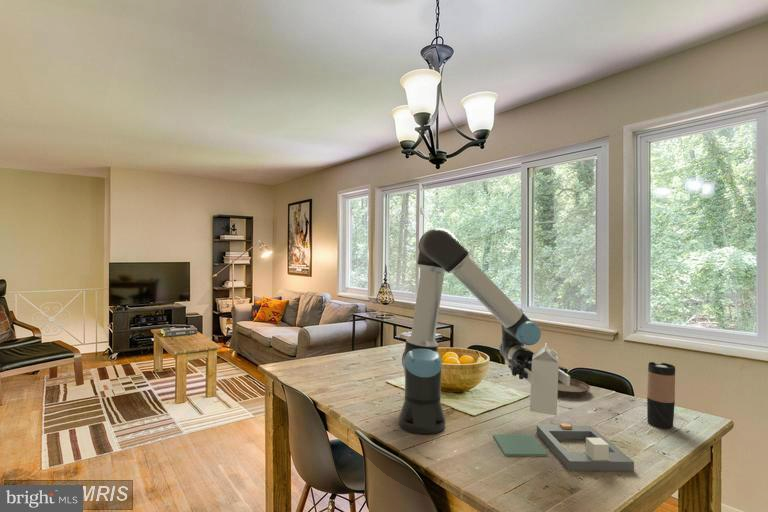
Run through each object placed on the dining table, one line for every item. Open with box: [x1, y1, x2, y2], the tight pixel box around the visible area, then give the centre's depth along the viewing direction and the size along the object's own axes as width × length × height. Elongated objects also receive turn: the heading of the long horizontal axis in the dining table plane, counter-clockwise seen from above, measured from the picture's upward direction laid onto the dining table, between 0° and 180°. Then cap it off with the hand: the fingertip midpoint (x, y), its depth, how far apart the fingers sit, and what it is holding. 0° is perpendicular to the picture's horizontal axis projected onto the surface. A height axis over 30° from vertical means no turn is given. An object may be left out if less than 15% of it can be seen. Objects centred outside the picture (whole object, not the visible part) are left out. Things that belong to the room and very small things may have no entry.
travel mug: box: [646, 361, 676, 430], centre depth 137 cm, size 8×8×20 cm
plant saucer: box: [557, 377, 591, 398], centre depth 170 cm, size 21×21×3 cm
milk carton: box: [529, 344, 560, 416], centre depth 119 cm, size 7×7×19 cm
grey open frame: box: [536, 423, 635, 472], centre depth 118 cm, size 17×22×7 cm
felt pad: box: [492, 433, 549, 457], centre depth 120 cm, size 12×12×1 cm
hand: (551, 380), depth 115 cm, fingers closed on milk carton, 9 cm apart
